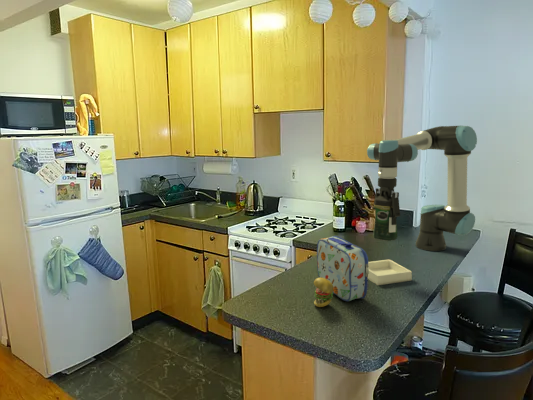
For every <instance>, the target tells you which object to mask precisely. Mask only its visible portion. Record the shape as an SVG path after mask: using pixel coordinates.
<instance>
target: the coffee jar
mask: <svg viewBox="0 0 533 400" xmlns="http://www.w3.org/2000/svg"><path fill="white" fill-rule="evenodd" d="M374 200H375V202H373V206H374V207H375V210H374V211H375V213H374V215H375V217H374V225H373V226H374V227H373V235H372V236H373V238H374V239H376V240H380V241H387V242H389V241H390V242H391V241H396V240H397V239H398V226H397V222H398V221H397V220H396V232H391V233H390V232H389V216H391V215H390V206H391V207H392V208H393V206H392V198H389V200H386V199H385V197H384V196H378V197H376V198H375V197H374Z"/></svg>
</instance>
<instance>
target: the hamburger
mask: <svg viewBox="0 0 533 400" xmlns="http://www.w3.org/2000/svg"><path fill="white" fill-rule="evenodd" d="M328 278H329V277H328ZM313 285H314V288H315V290H314V299H315V300H314V301H313V304H314V305H315V307H317V308H324V307H326V306H328V305H330V304H331V302H332V299H333V295H334V293H333V285H332V283H331V282H330V281H329V280H327V279H325V278H319V277H317V278H315V279H314V281H313Z"/></svg>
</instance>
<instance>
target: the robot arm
mask: <svg viewBox="0 0 533 400" xmlns="http://www.w3.org/2000/svg"><path fill="white" fill-rule="evenodd" d="M477 137H478V136H477V133H476V131H475V129H474V128H473V127H472V126H470V125H469V126H468V125H448V126H447V125H446V126H444V125H440V126H435V127H431V128H428V129H424V130H421V131H419V132H417V133H416V134H412V135H409V136H406V137H401V138H398V139H389V140H388V139H386V140H385V139H384V140H381V141H379V143H378V142H376V143H371V144H369V146H368V147H367V149H366V154H367V157H368V159H370V160H373V161H378V170H377V171H378V173H377V174H378V179H377V186H378V188H375V196H374V202H375V198H376V197H378V196H384V197H385V199H386V200H389V198H392V206H393V208H392V207H391V206H390V215H391V216H389V232H390V233H391V232H396V221H397V217H401V211H400V208H401V207H400V198H399V197H400V192H397V191H395V188H396V187H397V182H398V181H397V180H398V179H397V177H398V163H405V162H406V163H409V162H412V161H415V159H416V158H417V157H418V154H419V151H420V150H421V151H427V150H439V151H444V153H443V155H444V156H445V158H447V205H443V204H427V205H423V206H422V207H421V208H420V213H419V214H420V221H419V233H418V236H417V237H416V241H415V247H416V248H418V249H420V250H423V251H429V252H431V251H432V252H440V251H444V250H447V249H446V248H447V243H446V239H445V236H444V233H449V234H450V233H451V234H453V235H459V236H467V235H468V234H470V233H471V232H472V230H473V229H474V227H475V223H476V216H475V214H474V213H472V212H471V207H470V206H469V205H468V197H467V196H468V157H469V156H470V155H471V154H472V151H474V150H475V148H476V146H477V143H478V138H477ZM418 150H419V151H418ZM374 202H373V203H374ZM372 208H373V210H374V211H375V207H374V205H373V207H372Z"/></svg>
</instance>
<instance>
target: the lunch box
mask: <svg viewBox="0 0 533 400" xmlns="http://www.w3.org/2000/svg"><path fill="white" fill-rule="evenodd" d="M316 244H317V245H316V267H317V275H318V278H325V279H327V280H329V281H330V282H331V283H332V285H333V295H335V296H336V297H338V298H340V300H341V301H345V302H351V301H352V300H355V299H356V300H357V299H365V298H366V296H367V294H368V293H367V292H368V290H369V285H370V284H369V279H368V278H367V277H368V274H369V268H368V262H369V256H368V254H367V252H366V251H365V249H363V248H362V247H360V246H358V245H356V244H354V243H352V242H350V241H348V240H346V239H344V238H343V237H340V236H338V235H333V236H329V237H325V238H319V239H318V241H317V243H316ZM328 277H329V278H328Z"/></svg>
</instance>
